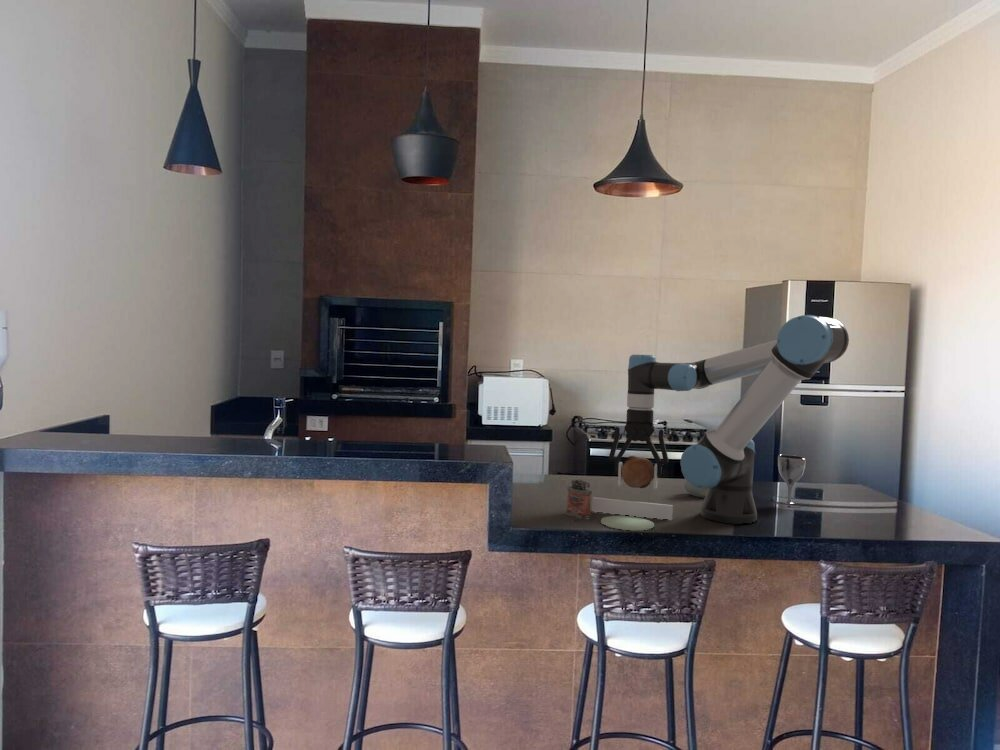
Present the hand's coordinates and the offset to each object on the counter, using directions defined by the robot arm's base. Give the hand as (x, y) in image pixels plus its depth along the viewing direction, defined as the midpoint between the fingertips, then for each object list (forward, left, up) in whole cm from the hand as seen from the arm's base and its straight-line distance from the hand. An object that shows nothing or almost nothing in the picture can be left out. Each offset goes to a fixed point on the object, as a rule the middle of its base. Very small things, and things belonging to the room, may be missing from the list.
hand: (637, 486), depth 226 cm
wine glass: (-44, -28, -7) cm, 52 cm away
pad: (0, +18, -7) cm, 19 cm away
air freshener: (-18, -29, -7) cm, 35 cm away
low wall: (0, +8, -7) cm, 10 cm away
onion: (0, 0, 0) cm, 0 cm away
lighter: (+14, +15, -7) cm, 22 cm away
